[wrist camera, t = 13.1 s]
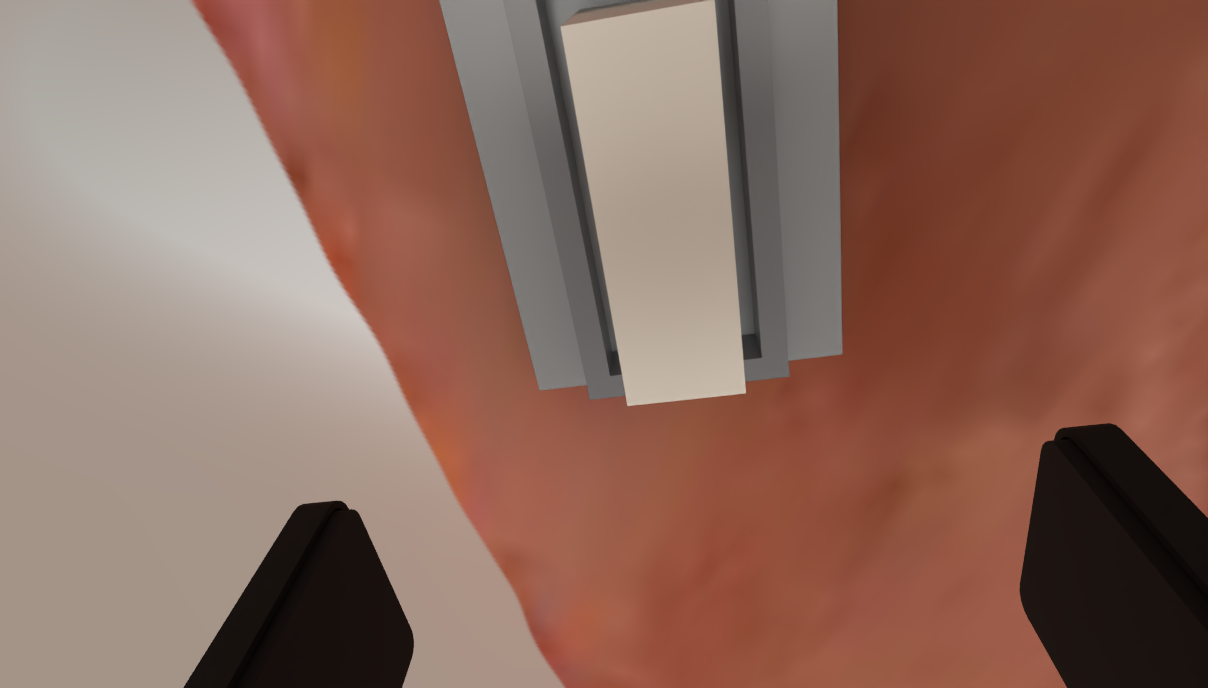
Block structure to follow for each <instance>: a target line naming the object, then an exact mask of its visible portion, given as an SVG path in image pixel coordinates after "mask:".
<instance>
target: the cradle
mask: <svg viewBox="0 0 1208 688" xmlns="http://www.w3.org/2000/svg"><path fill="white" fill-rule="evenodd" d="M439 1H440V5H441V9H442V12H443V16H444V20H445V24H446V28H447V32H448V36H449V40H450V44H451V48H452V51H453V55H454V59H455V63H456V67H457V71H458V75H459V79H460V83H461V86H462V90H463V94H464V98H465V102H466V106H467V110H468V114H469V118H470V122H471V125H472V129H473V133H474V137H475V141H476V145H477V149H478V153H479V157H480V160H481V164H482V168H483V172H484V176H485V180H486V184H487V188H488V192H489V195H490V199H491V203H492V207H493V211H494V215H495V219H496V223H497V227H498V231H499V234H500V238H501V242H502V246H503V250H504V254H505V258H506V262H507V266H508V269H509V273H510V277H511V281H512V285H513V289H514V293H515V297H516V301H517V305H518V308H519V312H520V316H521V320H522V324H523V328H524V332H525V336H526V340H527V343H528V347H529V351H530V355H531V359H532V363H533V367H534V371H535V375H536V379H537V382H538V386H539V390H549V389H557V388H565V387H574V386H582V385H587V388H588V393H589V397H590V400H593V399H601V398H610V397H618V396H626V394H625V389H624V383H623V377H622V372H621V366H620V360H619V355H618V349H617V344H616V338H615V332H614V327H613V321H612V315H611V310H610V304H609V298H608V293H607V287H606V281H605V276H604V270H603V264H602V259H601V253H600V247H599V242H598V236H597V230H596V225H595V219H594V213H593V208H592V202H591V196H590V191H589V185H588V179H587V174H586V168H585V162H584V157H583V151H582V146H581V140H580V134H579V129H578V123H577V117H576V112H575V106H574V100H573V95H572V89H571V83H570V78H569V72H568V66H567V61H566V55H565V49H564V44H563V38H562V32H561V27H560V26H561V25H563V24H564V23H565V22H566V21H567V20H568V19H569V18H571V17H572V16H573V15H574V14H575V13H576V12H577V11H579V10H581V9H587V8H592V7H598V6H604V5H609V4H615V3H620V2H626V1H632V0H439ZM715 11H716V23H717V36H718V48H719V61H720V73H721V86H722V99H723V111H724V124H725V136H726V149H727V161H728V174H729V186H730V199H731V211H732V224H733V236H734V249H735V261H736V274H737V286H738V299H739V311H740V324H741V337H742V349H743V362H744V374H745V382H747V381H755V380H764V379H772V378H781V377H789V362H788V361H791V360H799V359H807V358H816V357H824V356H832V355H841V354H842V297H841V227H840V156H839V86H838V15H837V0H715Z"/></svg>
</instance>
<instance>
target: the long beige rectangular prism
mask: <svg viewBox="0 0 1208 688" xmlns="http://www.w3.org/2000/svg"><path fill="white" fill-rule="evenodd" d="M560 27H561V32H562V38H563V44H564V49H565V55H566V61H567V66H568V72H569V78H570V83H571V89H572V95H573V100H574V106H575V112H576V117H577V123H578V129H579V134H580V140H581V146H582V151H583V157H584V162H585V168H586V174H587V179H588V185H589V191H590V196H591V202H592V208H593V213H594V219H595V225H596V230H597V236H598V242H599V247H600V253H601V259H602V264H603V270H604V276H605V281H606V287H607V293H608V298H609V304H610V310H611V315H612V321H613V327H614V332H615V338H616V344H617V349H618V355H619V360H620V366H621V372H622V377H623V383H624V389H625V394H626V400H627V406H633V405H642V404H651V403H661V402H670V401H679V400H689V399H698V398H708V397H717V396H726V395H736V394H745V393H746V387H745V374H744V362H743V349H742V337H741V324H740V311H739V299H738V286H737V274H736V261H735V249H734V236H733V224H732V211H731V199H730V186H729V174H728V161H727V149H726V136H725V124H724V111H723V99H722V86H721V73H720V61H719V48H718V36H717V23H716V11H715V0H632V1H626V2H620V3H615V4H609V5H604V6H598V7H592V8H587V9H581V10H579V11H577V12H576V13H575V14H574V15H573V16H572V17H571V18H569V19H568V20H567V21H566V22H565V23H564V24H563V25H561V26H560Z"/></svg>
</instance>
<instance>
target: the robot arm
mask: <svg viewBox="0 0 1208 688" xmlns="http://www.w3.org/2000/svg"><path fill="white" fill-rule="evenodd" d="M1020 597H1021V601H1022V605H1023V608H1024V611H1025V613H1026V615H1027V617H1028V619H1029V621H1030V622H1031V624H1032V626H1033V628H1034V629H1035V631H1036V633H1037V635H1038V637H1039V638H1040V640H1041V642H1042V644H1043V645H1044V647H1045V649H1046V651H1047V653H1048V654H1049V656H1050V658H1051V660H1052V661H1053V663H1054V665H1055V667H1056V669H1057V670H1058V672H1059V674H1060V676H1061V677H1062V679H1063V681H1064V683H1065V685H1066V686H1067V688H1208V518H1207V517H1206V516H1205V515H1204V514H1203V513H1202V512H1201V511H1200V510H1199V509H1198V508H1197V506H1196V505H1195V504H1194V503H1193V502H1192V501H1191V500H1190V499H1189V498H1188V497H1187V496H1186V495H1185V494H1184V493H1183V492H1182V491H1181V490H1180V489H1179V488H1178V487H1177V486H1176V485H1175V484H1174V483H1173V482H1172V481H1171V480H1170V479H1169V478H1168V477H1167V476H1166V475H1165V474H1164V473H1163V472H1162V471H1161V470H1160V468H1159V467H1158V466H1157V465H1156V464H1155V463H1154V462H1153V461H1152V460H1151V459H1150V458H1149V457H1148V456H1147V455H1146V454H1145V453H1144V452H1143V451H1142V450H1141V449H1140V448H1139V447H1138V446H1137V445H1136V444H1135V443H1134V442H1133V441H1132V440H1131V439H1130V438H1129V437H1128V436H1127V435H1126V434H1125V433H1124V431H1123V430H1121V429H1120V428H1119V427H1117V426H1116V425H1114V424H1110V423H1108V424H1098V425H1088V426H1078V427H1068V428H1062V429H1059V431H1058V432H1057V433H1056V435H1055V438H1054V441H1047V442H1045V443H1044V444H1043V446H1042V449H1041V454H1040V461H1039V467H1038V473H1037V480H1036V486H1035V492H1034V499H1033V505H1032V511H1031V518H1030V524H1029V531H1028V537H1027V543H1026V550H1025V556H1024V562H1023V569H1022V575H1021V581H1020ZM413 648H414V639H413V633H412V630H411V627H410V625H409V623H408V621H407V619H406V616H405V614H404V612H403V610H402V608H401V605H400V603H399V601H398V599H397V597H396V594H395V592H394V590H393V588H392V585H391V583H390V581H389V579H388V577H387V574H386V572H385V570H384V568H383V566H382V563H381V561H380V559H379V557H378V554H377V552H376V550H375V548H374V546H373V543H372V541H371V539H370V537H369V535H368V532H367V530H366V528H365V526H364V524H363V521H362V519H361V517H360V515H359V513H358V512H357V511H355V510H352V509H351V510H349V508H348V507H347V505H346V504H345V503H343V502H342V501H331V502H319V503H309V504H303V505H300V506H298V507H297V508H296V510H295V511H294V512H293V513H292V515H291V517H290V518H289V520H288V521H287V523H286V525H285V526H284V528H283V529H282V531H281V533H280V534H279V536H278V537H277V539H276V541H275V542H274V544H273V546H272V547H271V549H270V550H269V552H268V553H267V555H266V557H265V558H264V560H263V561H262V563H261V565H260V566H259V568H258V570H257V571H256V573H255V574H254V576H253V577H252V579H251V581H250V582H249V584H248V586H247V587H246V589H245V590H244V592H243V593H242V595H241V597H240V598H239V600H238V601H237V603H236V605H235V606H234V608H233V609H232V611H231V613H230V614H229V616H228V617H227V619H226V621H225V622H224V624H223V625H222V627H221V629H220V630H219V632H218V633H217V635H216V637H215V638H214V640H213V642H212V643H211V645H210V646H209V648H208V649H207V651H206V652H205V654H204V656H203V657H202V659H201V661H200V662H199V664H198V665H197V667H196V669H195V670H194V672H193V673H192V675H191V676H190V678H189V680H188V681H187V683H186V685H185V686H184V688H402V686H403V683H404V680H405V677H406V674H407V671H408V668H409V665H410V662H411V659H412V655H413Z"/></svg>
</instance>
